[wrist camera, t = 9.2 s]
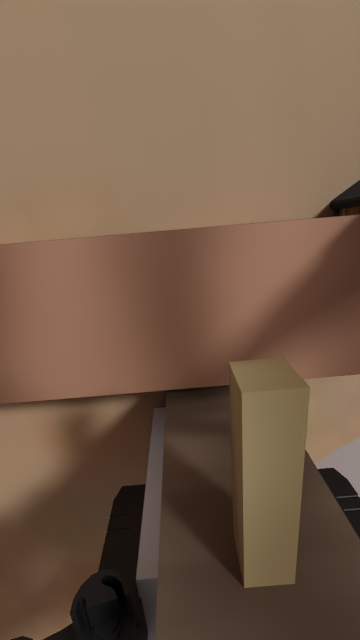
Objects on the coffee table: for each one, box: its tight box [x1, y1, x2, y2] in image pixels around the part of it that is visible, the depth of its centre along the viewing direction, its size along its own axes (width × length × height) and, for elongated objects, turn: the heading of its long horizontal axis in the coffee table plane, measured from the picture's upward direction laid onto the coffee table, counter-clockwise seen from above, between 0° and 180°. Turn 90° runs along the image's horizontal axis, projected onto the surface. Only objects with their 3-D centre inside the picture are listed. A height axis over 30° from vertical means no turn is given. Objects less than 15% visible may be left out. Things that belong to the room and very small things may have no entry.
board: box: [0, 215, 360, 404], centre depth 10 cm, size 15×6×2 cm, turn 95°
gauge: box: [155, 357, 360, 640], centre depth 8 cm, size 4×10×10 cm, turn 5°
